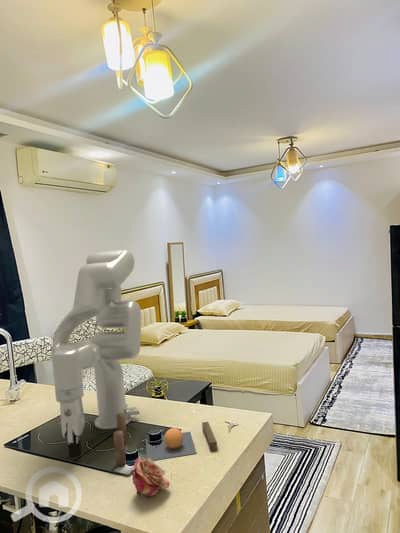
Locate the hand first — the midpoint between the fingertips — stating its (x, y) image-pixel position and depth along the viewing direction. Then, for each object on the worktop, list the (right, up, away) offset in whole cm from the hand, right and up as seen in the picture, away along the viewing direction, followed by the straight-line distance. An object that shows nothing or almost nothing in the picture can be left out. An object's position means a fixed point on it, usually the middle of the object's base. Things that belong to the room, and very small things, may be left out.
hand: (75, 455), depth 113 cm
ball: (+28, +4, +3) cm, 28 cm away
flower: (+24, 0, -18) cm, 30 cm away
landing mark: (+27, +1, +4) cm, 27 cm away
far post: (+12, 0, +8) cm, 15 cm away
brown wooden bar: (+39, +2, +6) cm, 39 cm away
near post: (+14, -1, -4) cm, 15 cm away
